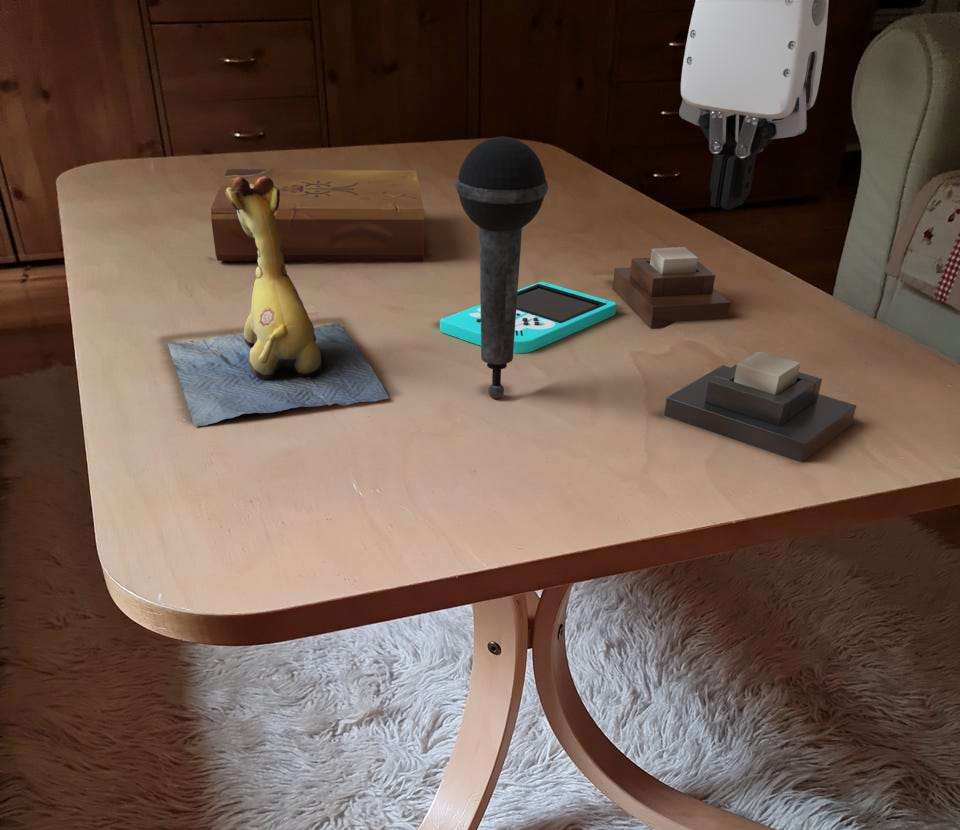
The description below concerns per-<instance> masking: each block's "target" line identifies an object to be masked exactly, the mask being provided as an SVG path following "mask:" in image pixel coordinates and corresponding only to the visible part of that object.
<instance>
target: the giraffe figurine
mask: <svg viewBox="0 0 960 830" xmlns="http://www.w3.org/2000/svg"><path fill="white" fill-rule="evenodd" d="M225 193H226V197H227V199H228V200H229V202H230V203H231V205H232V206H233V207H234V208H235V209H236V210H237V214H238V218H239V221H240V223H241V225H242V228H243V230H244V231H245V233H246V234H247V235H248V236H250V237H252V238H255V243H256V246H257V248H258V261H257V265H258V266H257V267H256V269H255V277H256V278H255V280H254V283H253V288H252V294H251V305H250V307H251V308H250V312H249V314H248V316H247V319H246V321H245V324H244V326H243V327H244V328H243V333H240V334H229V335H224V336H221V335H215V336H213V337H210V338H207V339H200V340H195V341H194V340H190V341H188V342H183V343H182V342H171V341H170V342H169V341H166V343H167V345H168V350H169V353H170V357H171V360H172V363H173V365H174V368H175V371H176V374H177V377H178V380H179V383H180V386H181V390H182V393H183V395H184V399H185V401H186V405H187V408H188V411H189V414H190V417H191V420H192V425H193V427H203V426H208V425H212V424H216V423H218V422H220V421H223V420H226V419H234V418H235V417H239V416H241V415H244V414H245V415H246V414H248V415H251V414H254V413H255V414H256V413H257V414H271V413H276V412H282V411H285V410H286V411H287V410H289V409H295V408H304V407H307V408H311V407H321V406H328V407H330V406H332V405H334V404H336V405H340V406H349V405H352V404H357V403H361V402H362V403H363V402H364V403H367V402H369V403H370V402H372V403H373V402H377V401H383V400H388V399H390V396H389V394H388V393H387V391H386V389H385V388H384V386H383V384H382V382H381V381H380V379H379V378H378V376H377V375H376V373H375V371H374V369H373V367H372V366H371V364H370V363H369V361H368V360H367V358H366V357H365V355H364V353H363V352H362V351H361V349H360V348H359V346H358V345H357V344H356V343H355V342H354V341H353V338H352V337H351V336H350V335H349V334H348V332H347V331H345V329H344V328H343V327H342V326H341V325H340V323H338V322H337V323H332V324H328V325H326V324H324V325H321V326H316V327H315V326H314V324H313V322H312V320H311V319H310V317H309V315H308V312H307V309H306V308H305V305H304V303H303V301H302V298H301V297H300V295H299V293H298V291H297V288H296V286H295V284H294V283H293V281H292V279H291V277H290V276H289V275H288V271H287V268H286V265H285V264H284V263H285V261H284V258H283V254H282V246H281V239H280V236H279V233H278V231H277V227H276V220H275V216H274V212H275V211H276V210H277V209H278V207H279V201H280V190H279V189H278V188H276V187H274V185H273V181H272V180H271V179H270V178H269V177H267V176H263V177H261V178H258V179H257V181H256V182H255V184H254V185H253V184H249V183H248V181H247V180H245V179H244V178H242V177H237V178H235V179H234V181H233V187H232V188H227V189H226V191H225Z"/></svg>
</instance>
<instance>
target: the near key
mask: <svg viewBox="0 0 960 830" xmlns="http://www.w3.org/2000/svg"><path fill="white" fill-rule="evenodd" d="M736 364H737V367H736V372H735V378H734V382H736V383H739V384H742V385H746V386H749V387H752V388H755V389H759V390H762V391H765V392H768V393H772V394H775V395H779V394H780V393H782V392H783V391H785V390H786V389H788V388H789V387H791V386H793V385H794V384H796V381H797V377H798V372H800V367H801V362H799V361H795V360H792V359H788V358H785V357H781V356H778V355H774V354H772V353H768V352H764V351H760V350H759V351H756V352H755V353H753V354H751V355H749V356H748V357H747V358H745V359H743V360H740V361H739V362H738V363H736Z"/></svg>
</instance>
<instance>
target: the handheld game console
mask: <svg viewBox="0 0 960 830" xmlns="http://www.w3.org/2000/svg"><path fill="white" fill-rule="evenodd" d="M616 313H617V302H615V301H611V300H608V299H604V298H601V297H597V296H594V295H591V294H587V293H584V292H580V291H576V290H573V289H571V288H570V289H569V288H566V287H563V286H559V285H556V284H553V283H549V282H545V281H539V282H536V283H534V284H530V285H528V286H525V287H522V288H520V289H518V292H517V307H516V321H515V335H514V349H513V354H529V353H531V352H534V351H536V350H539V349H541V348H544V347H546V346H548V345H550V344H553V343H554V342H557V341H559V340H562V339H564V338H567V337H568V336H571V335H573V334H575V333H578V332H580V331H582V330H584V329H587V328H589V327H591V326H594V325H596V324H598V323H600V322H602V321H603V322H604V320H607V319H609V318H611V317H614V316H616ZM439 331H440V333H442V334H445V335H448V336H452V337H454V338H457V339H460V340H463V341H465V342H468V343H472V344H474V345H477V346H479V347H481V304H478V305H474V306H472V307H470V308H467V309H464V310H461V311H459V312H456V313H454V314H450V315H448V316H445V317H442V318H441V319H439Z"/></svg>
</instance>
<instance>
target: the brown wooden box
mask: <svg viewBox="0 0 960 830" xmlns="http://www.w3.org/2000/svg"><path fill="white" fill-rule="evenodd" d="M263 176H267V177H269V178H270V179H271V180H272V181H273V185H274V187H276V188H278V189H279V190H280V201H279V207H278V209H277V210H276V211H275V212H274V216H275V220H276V227H277V231H278V233H279V236H280V239H281V246H282V254H283V258H284V262H351V261H352V262H363V261H364V262H380V261H381V262H382V261H383V262H388V261H389V262H390V261H391V262H392V261H395V262H400V261H401V262H405V261H406V262H407V261H408V262H410V261H412V262H413V261H414V262H415V261H416V262H417V261H420V262H421V261H422V262H423V261H425V209H424V204H423V199H422V194H421V193H422V192H421V189H420V184H419V179H418V173H417V170H415V169H414V170H413V169H411V170H409V169H408V170H407V169H406V170H405V169H404V170H403V169H400V170H399V169H397V170H395V169H278V168H277V169H271V168H269V169H265V168H264V169H263V168H261V169H260V168H258V169H257V168H255V169H251V168H227V169H226V172H225V173H224V177H223V179H222V181H221V182H220V183H221V184H220V185H219V188H218V189H217V193H216V195H215V198H214V200H213V202H212V205H211V207H210V219H211V220H210V222H211V228H212V229H211V230H212V237H213V243H214V251H215V258H216V260H217V262H258V248H257V246H256V243H255V238H252V237H250V236H248V235H247V234H246V233H245V231H244V230H243V228H242V225H241V223H240V221H239V218H238V214H237V210H236V209H235V208H234V207H233V206H232V205H231V203H230V202H229V200H228V199H227V197H226V193H225V191H226V189H227V188H232V187H233V181H234V179H235V178H237V177H242V178H244V179H245V180H247V181H248V183H249V184H253V185H254V184H255V182H256V181H257V179H258V178H261V177H263Z"/></svg>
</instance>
